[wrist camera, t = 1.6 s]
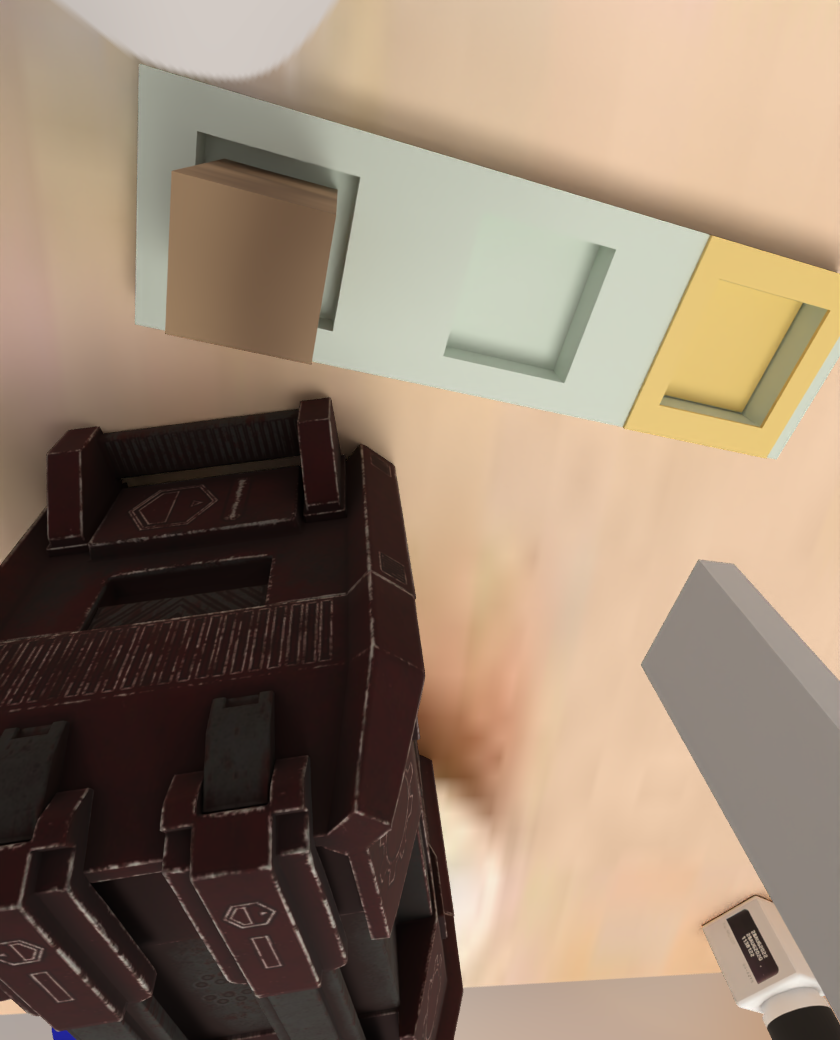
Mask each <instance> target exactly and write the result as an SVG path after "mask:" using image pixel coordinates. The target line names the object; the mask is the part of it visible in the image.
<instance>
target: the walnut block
mask: <svg viewBox="0 0 840 1040" xmlns="http://www.w3.org/2000/svg"><path fill="white" fill-rule="evenodd" d="M337 194H338V190H337V189H334V188H330V187H326V186H323V185H319V184H315V183H312V182H308V181H304V180H301V179H297V178H294V177H290V176H286V175H283V174H279V173H275V172H272V171H268V170H265V169H261V168H257V167H254V166H250V165H246V164H243V163H239V162H236V161H232V160H228V159H220V160H216V161H212V162H207V163H203V164H199V165H194V166H190V167H186V168H182V169H177V170H173V171H172V172H171V197H170V222H169V247H168V272H167V297H166V322H165V334H168V335H173V336H177V337H182V338H187V339H192V340H197V341H201V342H206V343H211V344H216V345H220V346H225V347H230V348H235V349H240V350H244V351H249V352H254V353H259V354H263V355H268V356H273V357H278V358H282V359H287V360H292V361H297V362H302V363H306V364H312V358H313V352H314V346H315V340H316V334H317V328H318V322H319V316H320V310H321V304H322V298H323V292H324V286H325V280H326V274H327V268H328V262H329V256H330V250H331V244H332V238H333V232H334V226H335V220H336V211H337Z"/></svg>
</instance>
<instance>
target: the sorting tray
mask: <svg viewBox="0 0 840 1040" xmlns="http://www.w3.org/2000/svg"><path fill="white" fill-rule="evenodd" d="M220 159H228V160H232V161H236V162H239V163H243V164H246V165H250V166H254V167H257V168H261V169H265V170H268V171H272V172H275V173H279V174H283V175H286V176H290V177H294V178H297V179H301V180H304V181H308V182H312V183H315V184H319V185H323V186H326V187H330V188H334V189H337V190H338V194H337V211H336V220H335V226H334V232H333V238H332V244H331V250H330V256H329V262H328V268H327V274H326V280H325V286H324V292H323V298H322V304H321V310H320V316H319V322H318V328H317V334H316V340H315V346H314V352H313V358H312V362H316V363H321V364H326V365H331V366H335V367H340V368H345V369H350V370H354V371H359V372H364V373H369V374H373V375H378V376H383V377H388V378H392V379H397V380H402V381H407V382H411V383H416V384H421V385H426V386H430V387H435V388H440V389H445V390H449V391H454V392H459V393H464V394H468V395H473V396H478V397H483V398H487V399H492V400H497V401H502V402H506V403H511V404H516V405H521V406H525V407H530V408H535V409H540V410H544V411H549V412H554V413H559V414H563V415H568V416H573V417H578V418H582V419H587V420H592V421H597V422H601V423H606V424H611V425H616V426H620V427H623V428H624V429H628V430H633V431H638V432H643V433H647V434H652V435H657V436H662V437H666V438H671V439H676V440H681V441H685V442H690V443H695V444H700V445H704V446H709V447H714V448H719V449H723V450H728V451H733V452H738V453H743V454H747V455H752V456H757V457H762V458H772V459H777V458H778V456H779V455H780V453H781V451H782V450H783V448H784V447H785V445H786V443H787V442H788V440H789V438H790V437H791V435H792V433H793V432H794V430H795V429H796V427H797V425H798V424H799V422H800V420H801V419H802V417H803V415H804V414H805V412H806V411H807V409H808V407H809V406H810V404H811V402H812V401H813V399H814V397H815V396H816V394H817V393H818V391H819V389H820V388H821V386H822V384H823V383H824V381H825V379H826V378H827V376H828V375H829V373H830V371H831V370H832V368H833V366H834V365H835V363H836V361H837V360H838V358H839V357H840V274H839V273H836V272H832V271H829V270H826V269H822V268H819V267H816V266H812V265H809V264H806V263H802V262H799V261H796V260H792V259H789V258H786V257H782V256H779V255H776V254H772V253H769V252H766V251H762V250H759V249H756V248H752V247H749V246H746V245H742V244H739V243H736V242H732V241H729V240H726V239H722V238H719V237H716V236H712V235H709V234H706V233H702V232H699V231H696V230H692V229H689V228H686V227H682V226H679V225H676V224H672V223H669V222H666V221H662V220H659V219H656V218H652V217H649V216H646V215H642V214H639V213H636V212H632V211H629V210H626V209H622V208H619V207H616V206H612V205H609V204H606V203H602V202H599V201H596V200H592V199H589V198H586V197H582V196H579V195H576V194H572V193H569V192H566V191H562V190H559V189H556V188H552V187H549V186H546V185H542V184H539V183H536V182H532V181H529V180H526V179H522V178H519V177H516V176H512V175H509V174H506V173H502V172H499V171H496V170H492V169H489V168H486V167H482V166H479V165H476V164H472V163H469V162H466V161H462V160H459V159H456V158H452V157H449V156H446V155H442V154H439V153H436V152H432V151H429V150H426V149H422V148H419V147H416V146H412V145H409V144H406V143H402V142H399V141H396V140H392V139H389V138H386V137H382V136H379V135H376V134H372V133H369V132H366V131H362V130H359V129H356V128H352V127H349V126H346V125H342V124H339V123H336V122H332V121H329V120H326V119H322V118H319V117H316V116H312V115H309V114H306V113H302V112H299V111H296V110H292V109H289V108H286V107H282V106H279V105H276V104H272V103H269V102H266V101H262V100H259V99H256V98H252V97H249V96H246V95H242V94H239V93H236V92H232V91H229V90H226V89H222V88H219V87H216V86H212V85H209V84H206V83H202V82H199V81H196V80H192V79H189V78H186V77H183V76H179V75H176V74H173V73H169V72H166V71H163V70H159V69H156V68H153V67H149V66H146V65H143V64H139V86H138V153H137V220H136V288H135V324H136V325H141V326H146V327H150V328H155V329H160V330H165V322H166V297H167V272H168V247H169V222H170V197H171V172H172V171H173V170H177V169H182V168H186V167H190V166H194V165H199V164H203V163H207V162H212V161H216V160H220Z"/></svg>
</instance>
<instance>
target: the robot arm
mask: <svg viewBox="0 0 840 1040" xmlns="http://www.w3.org/2000/svg"><path fill="white" fill-rule="evenodd" d="M641 666H642V668H643V670H644V671H645V673H646V675H647V677H648V679H649V680H650V682H651V684H652V686H653V688H654V689H655V691H656V693H657V695H658V697H659V698H660V700H661V702H662V704H663V706H664V707H665V709H666V711H667V713H668V715H669V716H670V718H671V720H672V722H673V724H674V725H675V727H676V729H677V731H678V732H679V734H680V736H681V738H682V740H683V741H684V743H685V745H686V747H687V749H688V750H689V752H690V754H691V756H692V758H693V759H694V761H695V763H696V765H697V767H698V768H699V770H700V772H701V774H702V776H703V777H704V779H705V781H706V783H707V785H708V786H709V788H710V790H711V792H712V793H713V795H714V797H715V799H716V801H717V802H718V804H719V806H720V808H721V810H722V811H723V813H724V815H725V817H726V819H727V820H728V822H729V824H730V826H731V828H732V829H733V831H734V833H735V835H736V837H737V838H738V840H739V842H740V844H741V846H742V847H743V849H744V851H745V853H746V855H747V856H748V858H749V860H750V862H751V863H752V865H753V867H754V869H755V871H756V872H757V874H758V876H759V878H760V880H761V881H762V883H763V885H764V887H765V889H766V890H767V892H768V894H769V896H770V898H771V899H772V901H773V903H774V905H775V907H776V908H777V910H778V912H779V914H780V916H781V917H782V919H783V921H784V923H785V924H786V926H787V928H788V930H789V932H790V933H791V935H792V937H793V939H794V941H795V942H796V944H797V946H798V948H799V950H800V951H801V953H802V955H803V957H804V959H805V960H806V962H807V964H808V966H809V968H810V969H811V971H812V973H813V975H814V977H815V978H816V980H817V982H818V984H819V986H820V987H821V989H822V991H823V993H824V994H825V996H826V998H827V1000H828V1002H829V1003H830V1005H831V1007H832V1009H833V1011H834V1012H835V1014H836V1016H837V1018H838V1020H839V1021H840V681H839V680H838V679H837V678H836V677H835V675H834V674H833V673H832V672H831V671H830V670H829V669H828V668H827V667H826V665H825V664H824V663H823V662H822V661H821V660H820V659H819V658H818V657H817V655H816V654H815V653H814V652H813V651H812V650H811V649H810V648H809V647H808V646H807V644H806V643H805V642H804V641H803V640H802V639H801V638H800V637H799V636H798V634H797V633H796V632H795V631H794V630H793V629H792V628H791V627H790V626H789V624H788V623H787V622H786V621H785V620H784V619H783V618H782V617H781V616H780V614H779V613H778V612H777V611H776V610H775V609H774V608H773V607H772V606H771V604H770V603H769V602H768V601H767V600H766V599H765V598H764V597H763V596H762V594H761V593H760V592H759V591H758V590H757V589H756V588H755V587H754V586H753V585H752V583H751V582H750V581H749V580H748V579H747V578H746V577H745V576H744V575H743V573H742V572H741V571H740V570H739V569H738V568H737V567H736V566H735V565H734V564H731V563H723V562H714V561H706V560H698V561H697V563H696V565H695V567H694V568H693V570H692V572H691V574H690V576H689V578H688V579H687V581H686V583H685V585H684V587H683V589H682V590H681V592H680V594H679V596H678V598H677V600H676V601H675V603H674V605H673V607H672V609H671V610H670V612H669V614H668V616H667V618H666V620H665V621H664V623H663V625H662V627H661V629H660V631H659V632H658V634H657V636H656V638H655V640H654V642H653V643H652V645H651V647H650V649H649V651H648V652H647V654H646V656H645V658H644V660H643V662H642V663H641Z"/></svg>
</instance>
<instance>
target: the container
mask: <svg viewBox="0 0 840 1040" xmlns="http://www.w3.org/2000/svg"><path fill="white" fill-rule="evenodd" d="M703 931H704V934H705V936H706V938H707V940H708V942H709V945H710V947H711V949H712V951H713V954H714V956H715V958H716V960H717V962H718V965H719V967H720V969H721V971H722V973H723V976H724V978H725V980H726V982H727V984H728V986H729V989H730V991H731V993H732V995H733V997H734V1000H735V1002H736V1004H737V1005H738V1006H739V1007H740V1008H744V1009H748V1010H751V1011H755V1012H759V1013H763V1014H764V1015H763V1021H764V1023H765V1025H766V1027H767V1029H768V1031H769V1033H770V1035H771V1038H772V1040H840V1024H839V1022H838V1020H837V1018H836V1017H835V1015H834V1013H833V1011H832V1009H831V1008H830V1006H829V1004H828V1003H827V1001H826V999H825V998H823V997H822V996H824V995H825V994H824V993H823V991H822V989H821V987H820V986H819V984H818V982H817V980H816V978H815V977H814V975H813V973H812V971H811V969H810V968H809V966H808V964H807V962H806V960H805V959H804V957H803V955H802V953H801V951H800V950H799V948H798V946H797V944H796V942H795V941H794V939H793V937H792V935H791V933H790V932H789V930H788V928H787V926H786V924H785V923H784V921H783V919H782V917H781V916H780V914H779V912H778V910H777V908H776V907H775V905H774V903H773V902H770V901H768V900H765V899H763V898H760V897H758V896H753V897H752V898H750V899H748V900H746V901H745V902H743V903H741V904H740V905H738V906H736V907H734V908H733V909H731V910H729V911H728V912H726V913H724V914H722V915H721V916H719V917H717V918H715V919H714V920H712V921H710V922H709V923H707V924H705V925H703Z"/></svg>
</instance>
